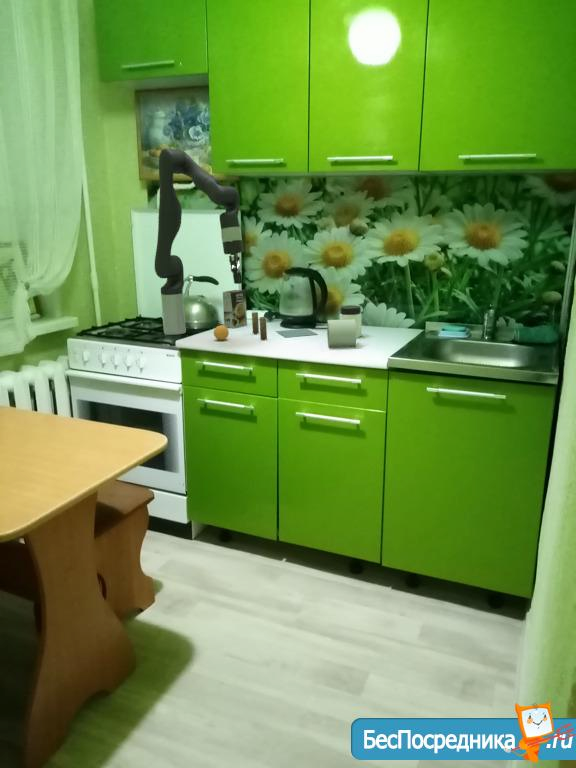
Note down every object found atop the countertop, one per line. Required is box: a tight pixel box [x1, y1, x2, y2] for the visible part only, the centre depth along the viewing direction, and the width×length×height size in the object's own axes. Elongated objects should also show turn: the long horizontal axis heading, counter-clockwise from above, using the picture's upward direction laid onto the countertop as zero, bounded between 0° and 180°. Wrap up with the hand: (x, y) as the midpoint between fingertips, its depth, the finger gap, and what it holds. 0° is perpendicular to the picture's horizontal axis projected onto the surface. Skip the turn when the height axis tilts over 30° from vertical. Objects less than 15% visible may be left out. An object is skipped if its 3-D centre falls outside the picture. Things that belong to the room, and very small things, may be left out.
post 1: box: [251, 311, 260, 335], centre depth 251 cm, size 3×3×9 cm
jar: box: [339, 304, 362, 339], centre depth 239 cm, size 9×8×12 cm
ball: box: [213, 324, 230, 341], centre depth 241 cm, size 6×6×6 cm
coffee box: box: [222, 289, 248, 329], centre depth 269 cm, size 9×6×16 cm
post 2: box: [259, 316, 268, 341], centre depth 239 cm, size 3×3×9 cm
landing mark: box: [275, 328, 318, 338], centre depth 251 cm, size 14×14×1 cm
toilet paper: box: [326, 319, 357, 348], centre depth 223 cm, size 10×10×10 cm
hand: (238, 283), depth 227 cm, fingers open, 8 cm apart
